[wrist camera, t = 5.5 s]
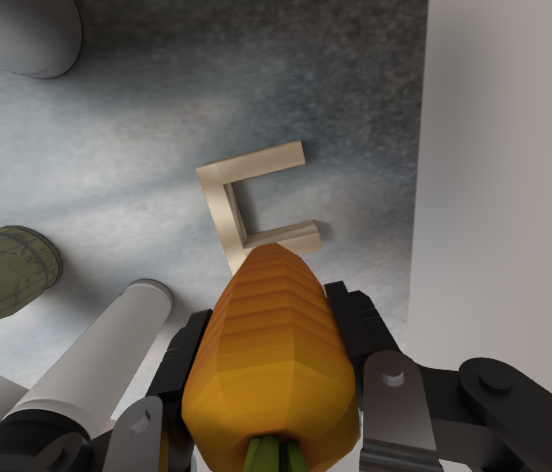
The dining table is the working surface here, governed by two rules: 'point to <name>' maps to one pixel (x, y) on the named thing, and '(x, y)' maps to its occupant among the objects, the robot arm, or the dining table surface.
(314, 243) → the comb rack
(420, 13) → the dining table surface
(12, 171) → the dining table surface
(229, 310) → the carrot
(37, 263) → the thermos
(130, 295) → the travel mug
